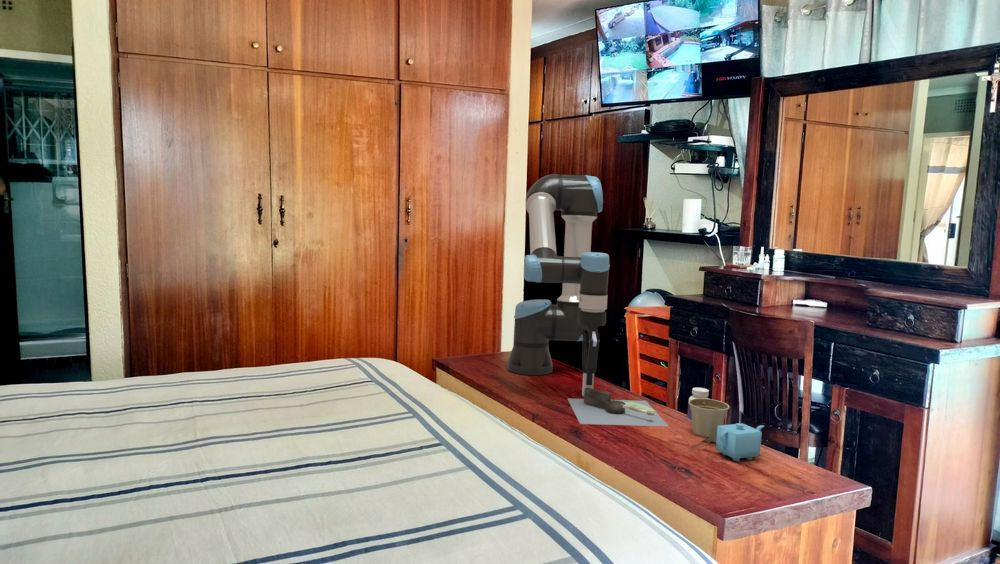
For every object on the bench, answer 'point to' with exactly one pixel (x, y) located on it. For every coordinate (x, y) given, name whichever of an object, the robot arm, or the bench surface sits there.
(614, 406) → the dark long piece
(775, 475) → the bench surface
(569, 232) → the robot arm
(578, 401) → the tuner board
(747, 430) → the teapot
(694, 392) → the pill bottle
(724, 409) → the flower pot
